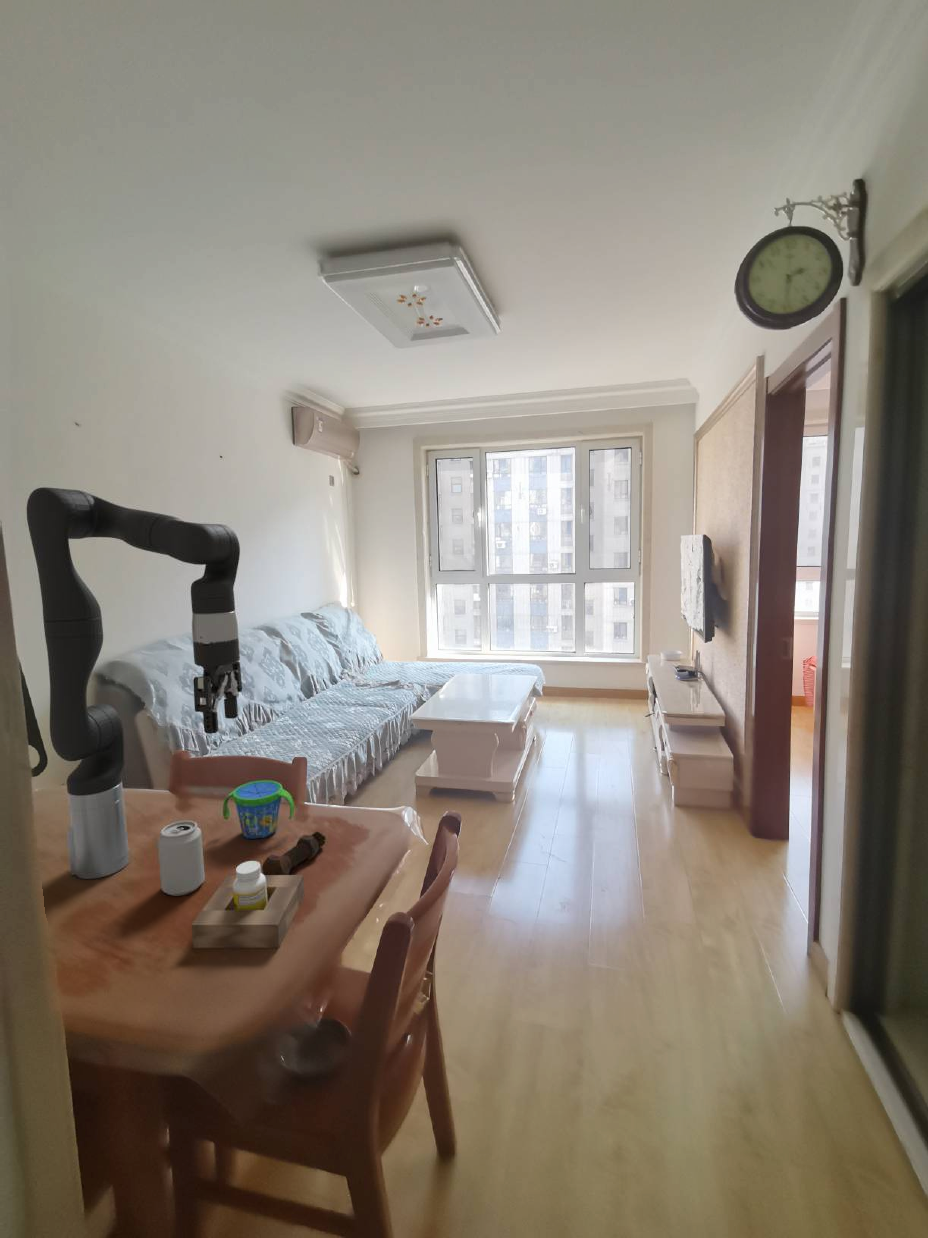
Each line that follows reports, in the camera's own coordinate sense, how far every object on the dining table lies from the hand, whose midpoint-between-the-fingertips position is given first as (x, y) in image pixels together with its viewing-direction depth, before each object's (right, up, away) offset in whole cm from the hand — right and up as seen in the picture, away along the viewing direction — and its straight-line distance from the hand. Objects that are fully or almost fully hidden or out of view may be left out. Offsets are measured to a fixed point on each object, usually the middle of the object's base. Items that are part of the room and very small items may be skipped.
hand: (221, 725), depth 105 cm
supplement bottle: (+7, -33, -5) cm, 34 cm away
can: (-10, -32, +5) cm, 34 cm away
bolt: (+10, -31, +13) cm, 35 cm away
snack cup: (-2, -29, +26) cm, 39 cm away
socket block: (+7, -33, -5) cm, 34 cm away
